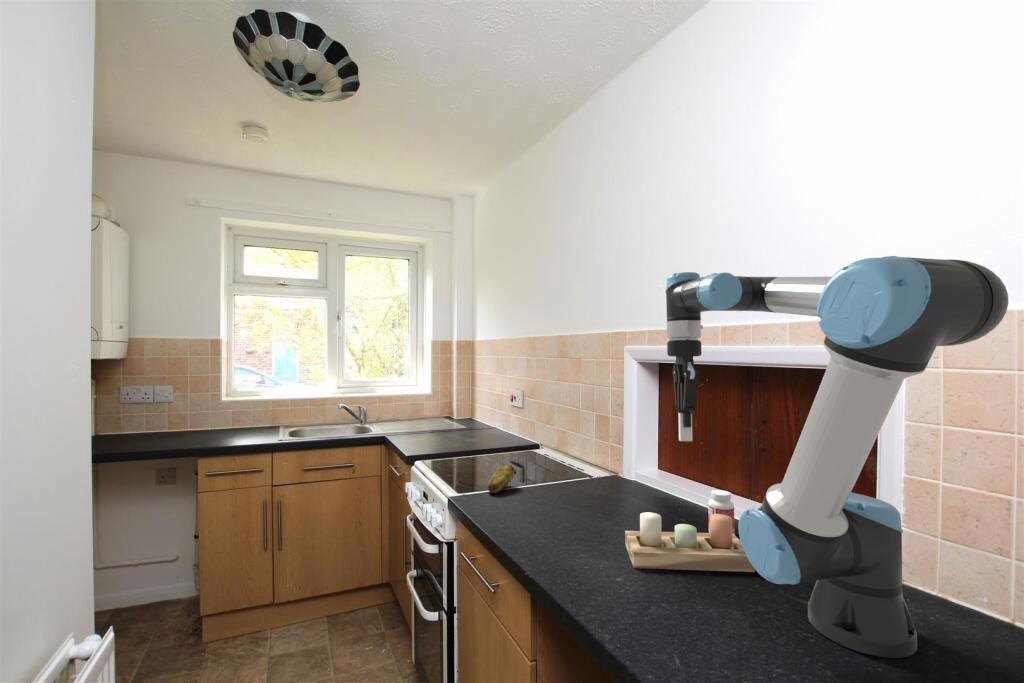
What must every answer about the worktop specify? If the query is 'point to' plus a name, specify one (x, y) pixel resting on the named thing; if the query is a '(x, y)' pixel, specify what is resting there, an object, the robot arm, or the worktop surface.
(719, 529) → the button terracotta
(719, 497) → the pill bottle
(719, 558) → the board
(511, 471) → the potato
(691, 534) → the button green
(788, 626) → the worktop surface
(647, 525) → the button cream
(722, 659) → the worktop surface
